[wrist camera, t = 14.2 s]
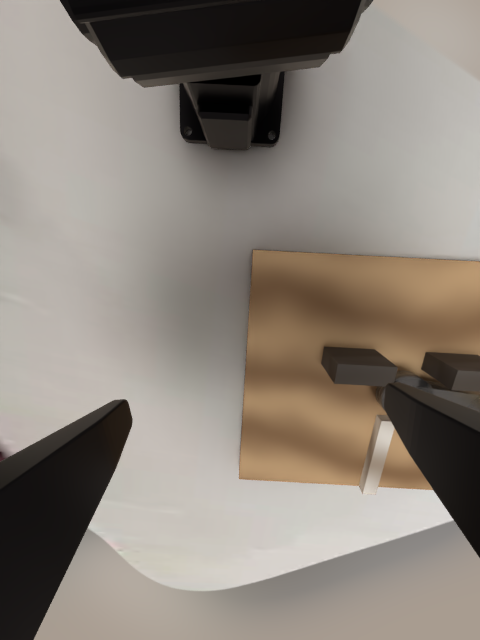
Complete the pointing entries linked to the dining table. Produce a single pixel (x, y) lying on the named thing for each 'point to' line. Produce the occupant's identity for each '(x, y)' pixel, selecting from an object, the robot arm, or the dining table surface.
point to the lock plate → (348, 361)
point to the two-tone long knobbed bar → (432, 390)
